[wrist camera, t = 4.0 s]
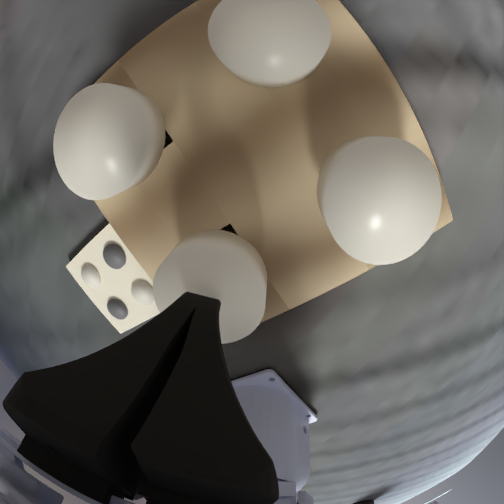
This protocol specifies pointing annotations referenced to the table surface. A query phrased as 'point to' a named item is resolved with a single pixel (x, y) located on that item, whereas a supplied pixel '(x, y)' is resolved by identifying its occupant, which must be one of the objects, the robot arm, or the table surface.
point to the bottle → (366, 502)
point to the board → (255, 150)
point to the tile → (114, 280)
